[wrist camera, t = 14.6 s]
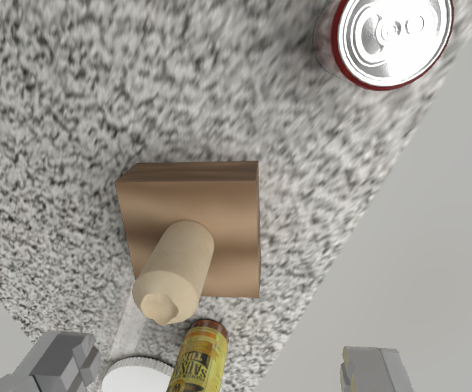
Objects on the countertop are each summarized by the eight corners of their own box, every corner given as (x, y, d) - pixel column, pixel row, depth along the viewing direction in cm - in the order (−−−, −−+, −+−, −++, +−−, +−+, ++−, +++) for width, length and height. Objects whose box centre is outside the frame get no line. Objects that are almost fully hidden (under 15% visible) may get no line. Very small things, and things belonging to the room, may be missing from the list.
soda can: (313, 82, 33) (333, 99, 22) (309, -2, 30) (329, -29, 19) (391, 71, 32) (452, 83, 21) (394, -17, 29) (466, -55, 18)
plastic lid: (191, 357, 51) (187, 371, 49) (192, 415, 57) (188, 430, 55) (103, 346, 52) (95, 360, 50) (113, 404, 58) (106, 419, 56)
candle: (214, 220, 34) (191, 284, 25) (215, 265, 36) (195, 339, 27) (161, 218, 34) (119, 280, 25) (165, 262, 36) (129, 334, 27)
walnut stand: (137, 163, 38) (114, 182, 33) (258, 161, 37) (255, 180, 31) (155, 263, 44) (138, 294, 39) (260, 265, 42) (259, 297, 37)
